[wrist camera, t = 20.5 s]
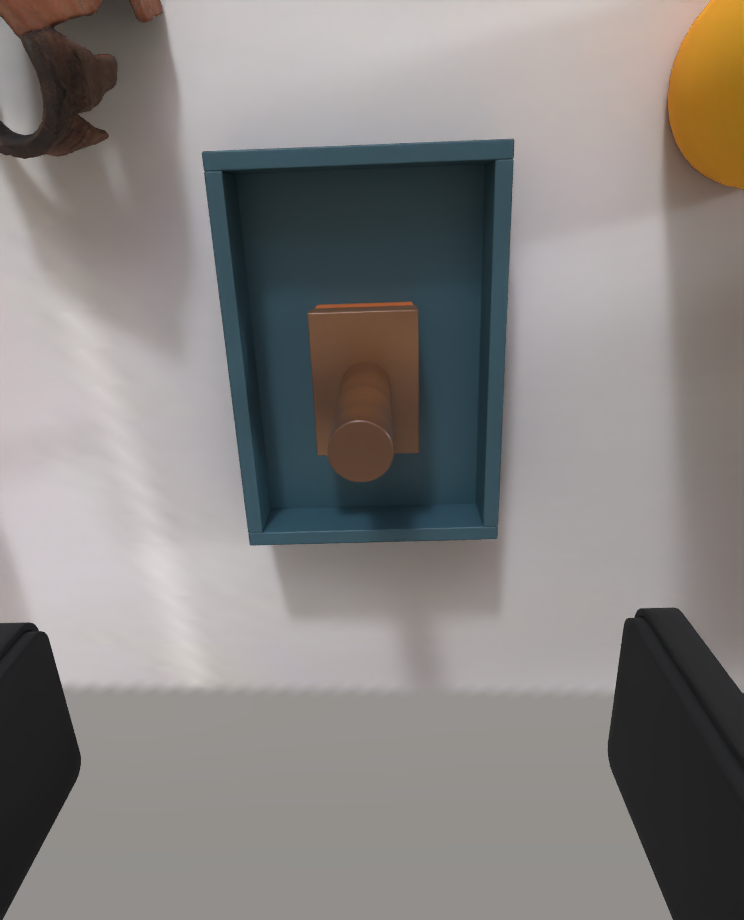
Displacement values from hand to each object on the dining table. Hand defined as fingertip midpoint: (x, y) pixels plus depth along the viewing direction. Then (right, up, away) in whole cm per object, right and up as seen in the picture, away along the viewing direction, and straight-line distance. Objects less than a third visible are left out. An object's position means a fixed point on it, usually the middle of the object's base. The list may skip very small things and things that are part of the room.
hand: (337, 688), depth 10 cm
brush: (0, +9, +24) cm, 25 cm away
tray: (0, +10, +24) cm, 26 cm away
